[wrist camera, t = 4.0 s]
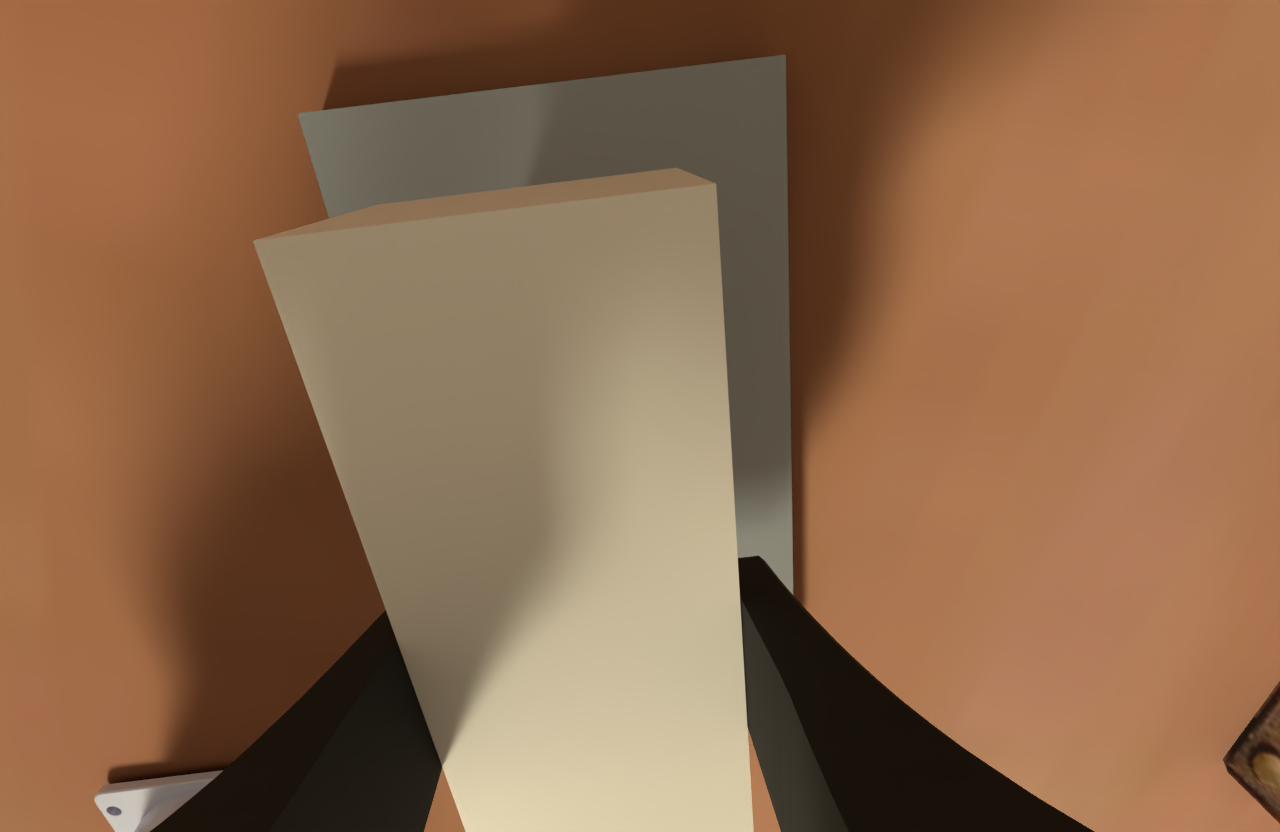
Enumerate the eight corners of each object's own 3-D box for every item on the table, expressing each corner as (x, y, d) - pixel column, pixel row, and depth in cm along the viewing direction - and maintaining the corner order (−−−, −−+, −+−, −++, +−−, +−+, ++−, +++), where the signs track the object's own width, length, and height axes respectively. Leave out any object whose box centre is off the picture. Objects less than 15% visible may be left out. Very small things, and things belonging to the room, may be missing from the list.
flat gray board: (785, 634, 22) (822, 736, 18) (479, 671, 22) (453, 781, 18) (772, 61, 15) (830, 31, 11) (319, 116, 15) (220, 104, 11)
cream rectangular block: (723, 746, 16) (759, 925, 12) (532, 770, 16) (510, 955, 12) (676, 167, 10) (716, 183, 7) (377, 204, 10) (252, 240, 7)
